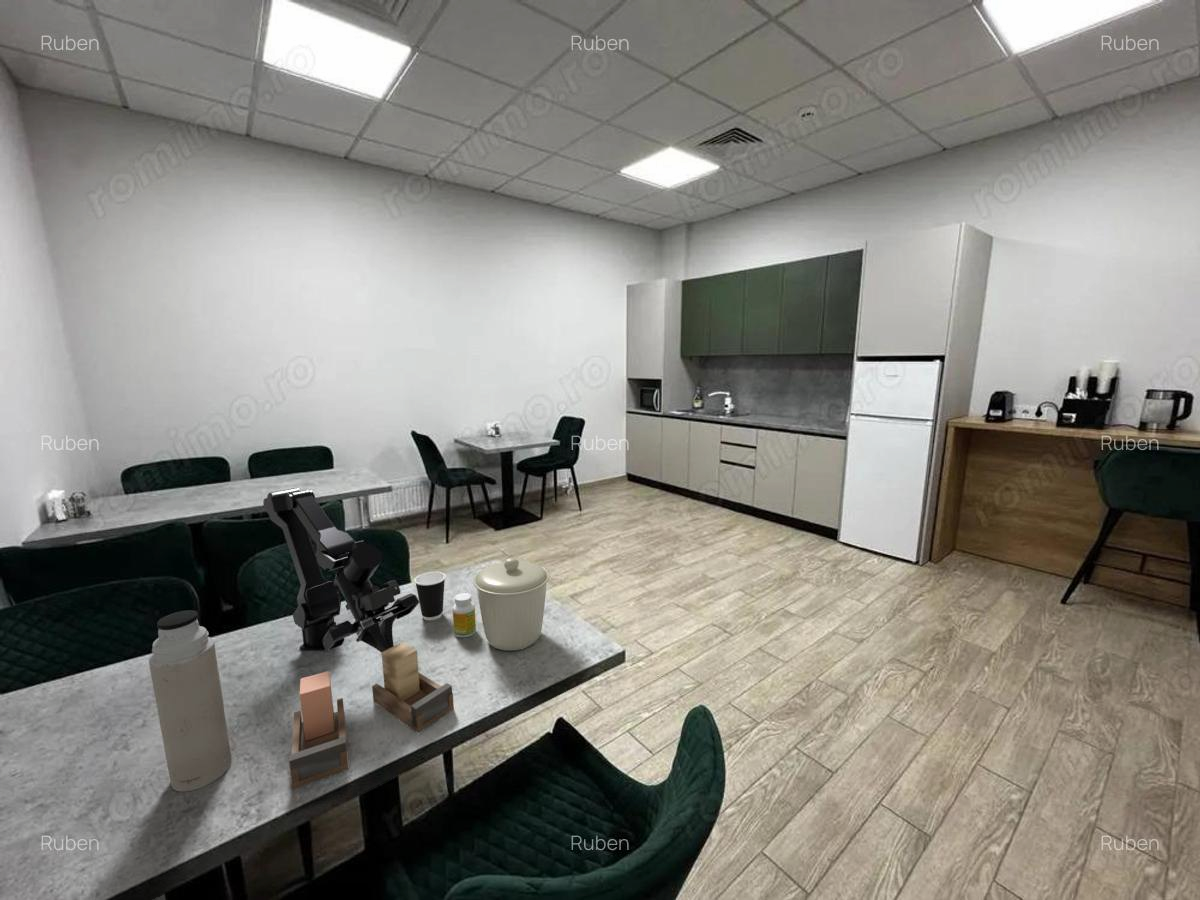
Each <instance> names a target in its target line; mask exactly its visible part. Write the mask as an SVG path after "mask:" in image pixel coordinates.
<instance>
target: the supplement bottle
mask: <svg viewBox="0 0 1200 900" xmlns="http://www.w3.org/2000/svg"><path fill="white" fill-rule="evenodd" d="M452 620H453V621H452V622H453V624H452V625H453V626H452V627H453V635H454V636H455V637H457V638H467V637H471V636H473V635H474V634H475V633H476V631H477V630H476V629H477V627H476V626H477V625H476V623H477V622H476V605H475V603H474V602H472V594H470V593H466V592H463V593H459V594H457V595H455V597H454V605H453V607H452Z"/></svg>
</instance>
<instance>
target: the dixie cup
mask: <svg viewBox="0 0 1200 900" xmlns="http://www.w3.org/2000/svg"><path fill="white" fill-rule="evenodd" d="M446 577H447V576H446V574H445V573H444V572H441V571H428V572H424V573H421V574H418V575H417V576H416V577H414V580H413V581H414V583H415V587H416V592H417V598H418V600H419V603H418V604H419V607H420V612H421V616H422V617H423V620H425V621H430V622H431V621H435V620H438V619H441V617H442V615H443V611H444V596H445V580H446Z"/></svg>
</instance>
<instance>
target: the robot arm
mask: <svg viewBox="0 0 1200 900" xmlns="http://www.w3.org/2000/svg"><path fill="white" fill-rule="evenodd" d="M262 504H263V507H264V508H263V509H264V511H265V512H266V513H267V514H268V516H269V519H270V521H272V523H274V524H275V525H277V526H278V527H280V529H282V532H283V535H284V538H285V541H286V544H287V547H288V551H289V553H290V557H291V559H292V563H293V565H294V568H295V571H296V575H297V577H298V581H299V583H300V584H299V585H300V587H299V590H298V593H297V596H296V601H297V607H296V609H295V610H294V612H293V614H292V618H293V622H294V624H295V625H296V626H298V627H299V628H301V633H302V634H301V635H302V642H303V643H302V644H301V645H300V646H299V650H301V651H305V650H307V651H311V650H312V651H314V650H315V651H321V650H322V651H324V650H325V652H330V651H333V650H334V649H337V648H340V647H342V645H343V644H344V642H345V638H347V637H350V636H351V635H354V634H356V636H357V638H355V641H356V643H359V642H363V643H365V644H366V645H368V646H371V647H372V648H374V649H375V650H377V651H379V652H380V653H381V654H382V652H384V651H386V650H388V649H389V648H391V647H393V646H395V644H394V636H393V627H394V626H393V625H394V622H395V621H396V620H399V619H402V618H404V617H407V615H410V614H411V613H412V612H413V611H414V609H415V608H416V607H417V606H418V605H419V604H420V603H419V598H418V595H415V594H413V593H408V594H406V595H403V596H402V597H401V596H400V597H399V598H397V599H396V598H395V597H396V596H398V595H400V594H401V588H400V586H399V583H397V581H396V579H393V580H390V581H388V582H386V583H384V584H383V588H382V589H379V587H378V586H377V585H373V584H372V582H371V581H370V578H371V577H373V575H374V573H375V572H376V570H377V568H378V567H379V566H380V564H381V562H382V560H383V554H382V551H381V550H380V549H378V547H376V546H375V545H372V544H366V542H365V540H359V541H355V540H354V539H353V537H352V536H351V535H350V534H348V533H347V532H344V531H342V530H339V529H337V527H336V526H335V525H334V523H333V522H332V521H331V520H330V518H329V516H327V514H326V512H325V510H323V508H322V507H321V505H320V504H319V503H318V501H317V500H316V495H315V493H314V491H313V490H312V489H300V488H298V487H293V488H288V489H283V490H278V491H271V492H269V493H268V494H267V497H265V498H264V499H263V503H262ZM311 538H312V540H313V541H314V543H315V546H316V550H314V546H313V543H312V540H311ZM320 567H321V568H320ZM321 569H323V570H324V571H326V572H332V571H335V570H338V569H340V570H339V571H338V572H335V576H334V580H333V581H332V580H328V579H326V577H324V576H323V573H322V570H321ZM336 587H338V589H339V592H340V593H341V595H342V597H343V599H344V600H345V602H346V605H345V609H346V611H349V610H350V613H351V614H352V616H353V618H354V621H353V623H352V622H351V621H350V620H345V621H343V622H341V623H338V624H337V622H336V621H335V617H336V616H340V614H341V608H342V597H341V595H340V593H339V592H338V591H337V588H336ZM390 604H393V605H392V606H390V607H388V606H389V605H390ZM387 607H388V608H387Z"/></svg>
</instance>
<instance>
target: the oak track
mask: <svg viewBox="0 0 1200 900" xmlns="http://www.w3.org/2000/svg"><path fill="white" fill-rule="evenodd" d="M419 686H420V691H419V692H418V693H416V694H414V695H413V696H411V697H410V698H408V699H406V700H405V701H402V700H401V699H399V698H398V697H396V696H395V695H393V694H392V693H390V692H389V691H387V690H386V689H385V688H384V686H382V685H380V684H378V683H377V682H376V683H375V684H373V685H371V688H372V690H371V691H372V699H373V702H374V703H375V704H377V706H379V707H381V708H382V709H383V710H385V711H386V712H387V713H389V714H390V715H392V716H393V717H394V718H395V719H397V720H399V721H400V722H401V723H402V724H403V725H405V726H407V727H408V728H410V729H411V730H412V731H414V732H415V733H416V734H420V733H421V732H423V731H424V730H426V729H427V728H428V727H431V725H433V724H434V723H436V722H437V721H439V720H440V719H441V718H443V717H445V716H446V715H447V714H449V713H451V712H452V711H453V710H454V709H455V708H454V707H455V706H454V705H455V704H454V693H453V685H451V684H450V683H448V682H446V683H445V684H442V685H440V684H438V683H437V682H436V681H434V680H432V679H431V678H428V677H427V676H425V675H424V674H422V673H420V672H419Z"/></svg>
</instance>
